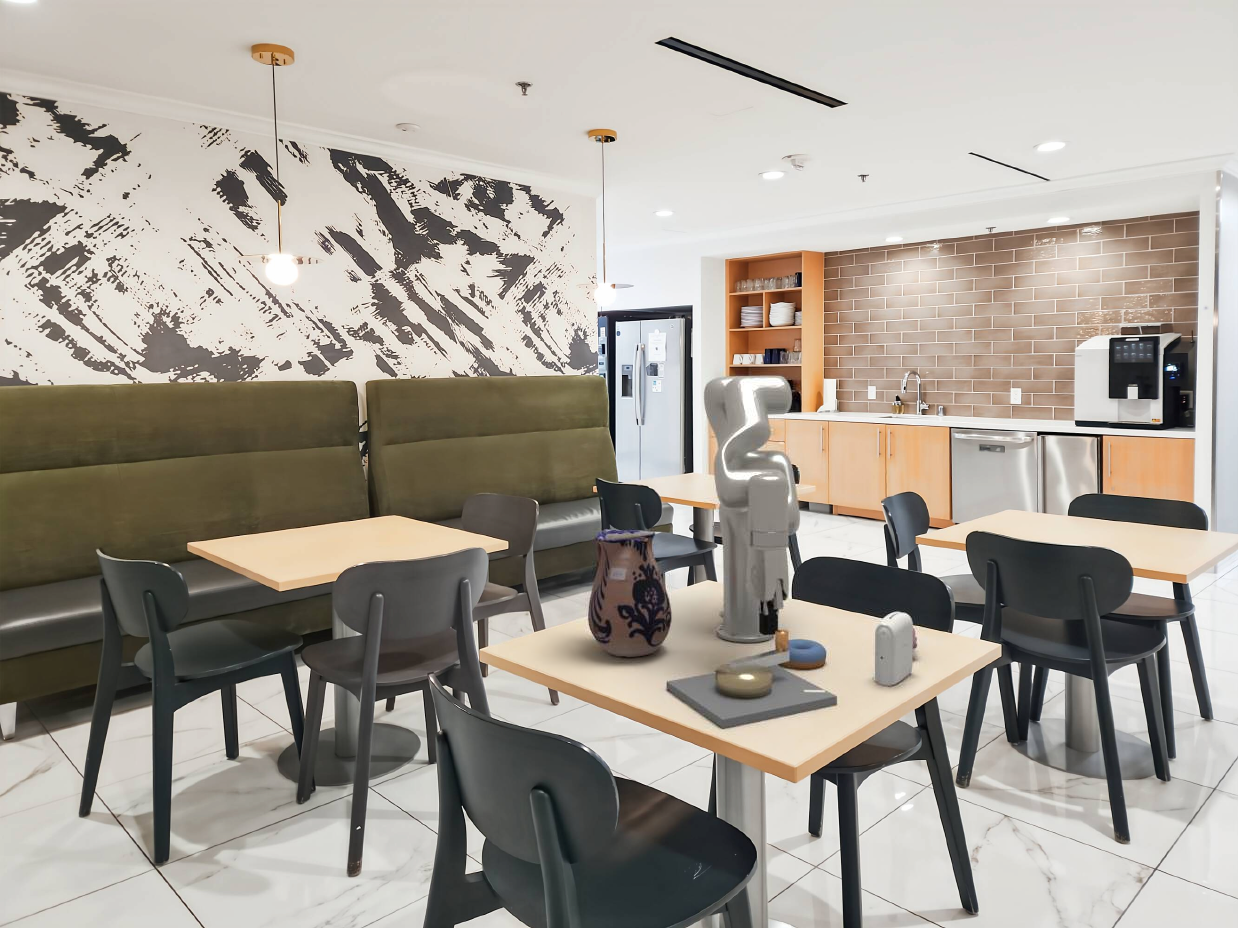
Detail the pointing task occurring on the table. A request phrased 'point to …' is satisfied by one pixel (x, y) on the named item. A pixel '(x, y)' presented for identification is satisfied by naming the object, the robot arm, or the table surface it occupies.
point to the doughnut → (805, 654)
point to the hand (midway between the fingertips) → (768, 633)
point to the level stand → (733, 711)
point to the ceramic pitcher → (628, 595)
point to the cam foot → (752, 671)
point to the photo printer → (893, 648)
